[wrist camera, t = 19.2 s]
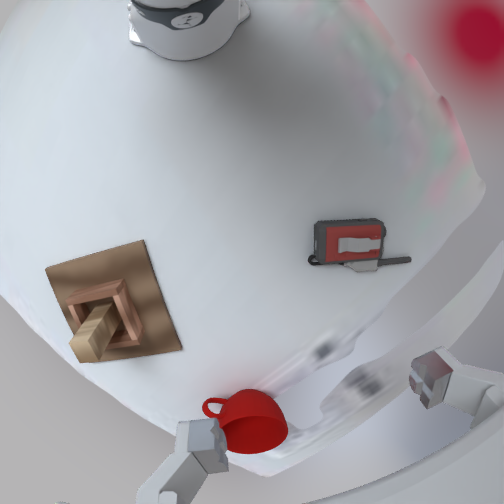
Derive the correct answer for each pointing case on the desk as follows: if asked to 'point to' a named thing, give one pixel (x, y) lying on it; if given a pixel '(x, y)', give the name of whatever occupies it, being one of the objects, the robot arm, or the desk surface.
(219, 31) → the robot arm
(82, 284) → the wooden peg socket board
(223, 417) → the ceramic cup
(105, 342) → the wooden peg
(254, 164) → the desk surface
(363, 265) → the walkie-talkie
